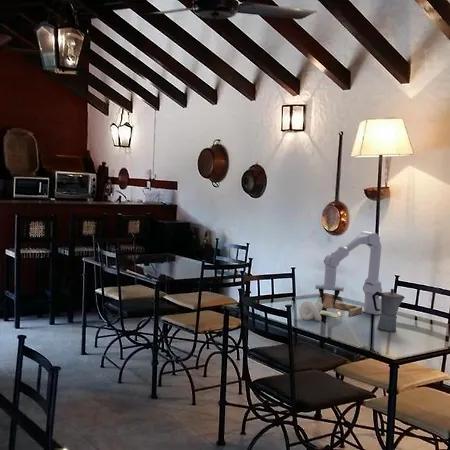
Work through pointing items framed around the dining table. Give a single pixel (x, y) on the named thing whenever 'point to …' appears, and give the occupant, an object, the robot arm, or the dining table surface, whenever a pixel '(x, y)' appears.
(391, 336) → the dining table surface
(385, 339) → the dining table surface
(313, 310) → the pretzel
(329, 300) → the terracotta pot
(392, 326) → the moka pot
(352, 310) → the tan wooden bent bar
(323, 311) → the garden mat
